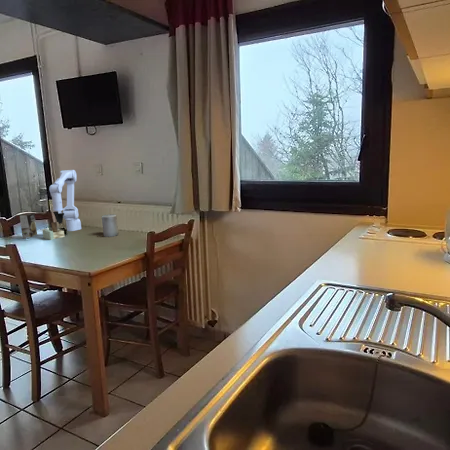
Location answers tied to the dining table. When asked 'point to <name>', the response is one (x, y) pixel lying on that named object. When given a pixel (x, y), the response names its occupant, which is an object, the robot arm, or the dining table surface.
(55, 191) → the robot arm
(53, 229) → the dowel
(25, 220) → the coffee box
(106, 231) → the pillar candle
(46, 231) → the board
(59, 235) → the socket block
